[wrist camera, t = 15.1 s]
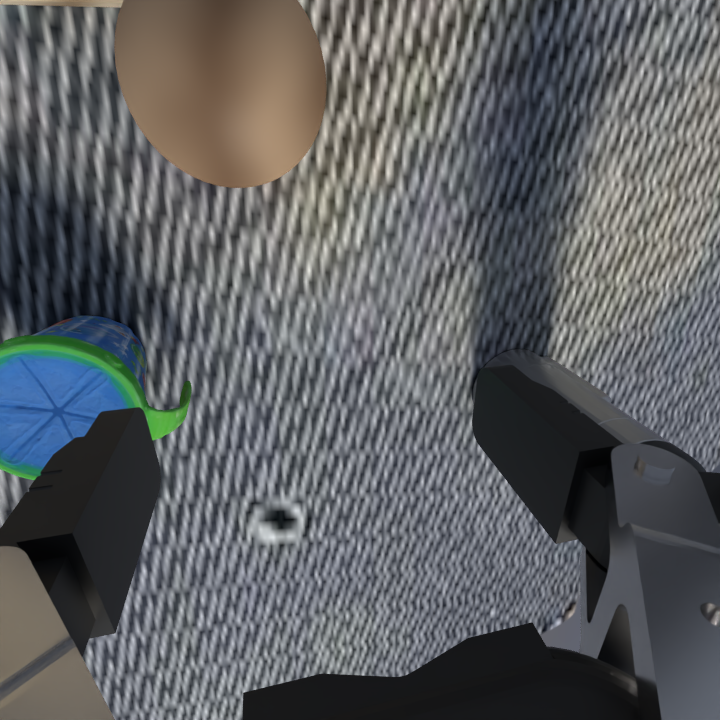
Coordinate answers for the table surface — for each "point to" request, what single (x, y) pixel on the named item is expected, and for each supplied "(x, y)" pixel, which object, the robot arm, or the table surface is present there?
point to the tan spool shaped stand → (223, 84)
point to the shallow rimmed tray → (66, 3)
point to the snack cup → (71, 388)
